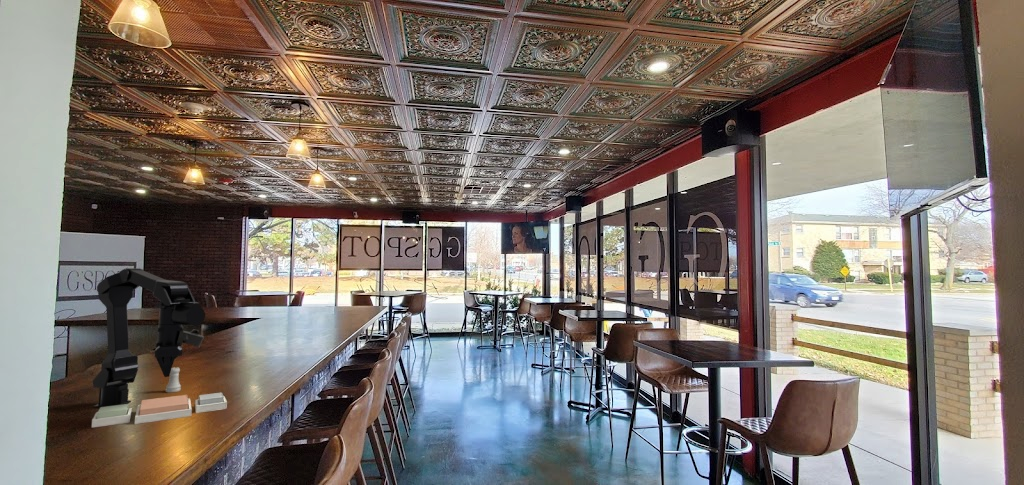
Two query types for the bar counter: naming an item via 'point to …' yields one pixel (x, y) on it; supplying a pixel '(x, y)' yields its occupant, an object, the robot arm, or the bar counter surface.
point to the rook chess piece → (173, 381)
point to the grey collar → (210, 406)
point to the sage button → (112, 411)
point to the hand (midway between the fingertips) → (166, 376)
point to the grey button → (210, 398)
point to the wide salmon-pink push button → (162, 415)
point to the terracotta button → (164, 404)
